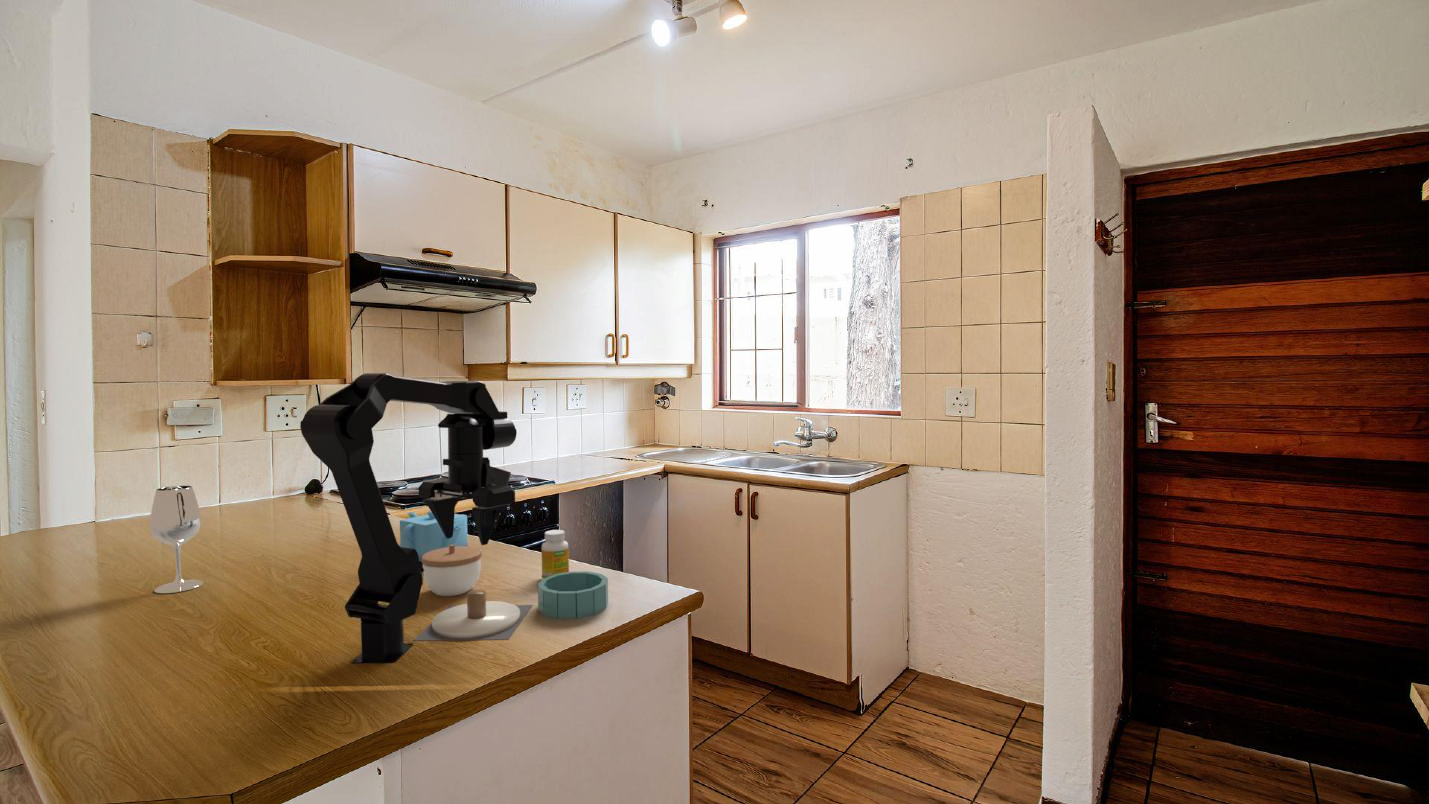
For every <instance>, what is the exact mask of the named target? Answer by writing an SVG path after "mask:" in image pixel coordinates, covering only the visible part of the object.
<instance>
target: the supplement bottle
mask: <svg viewBox="0 0 1429 804" xmlns="http://www.w3.org/2000/svg"><path fill="white" fill-rule="evenodd" d="M565 534H566V532H565V530H563V529H551V530H547V531H545V532H544V540H545V542H543V543H542V544H541V578H542V579H541V580H543V579H544V578H547V577H549V576H552V575H555V574H560V573H566V572H570V571H569V570H570V568H569V567H570V561H569V559H570V558H569V556H570V555H569V553H570V552H569V543H568V542H567V541H566V540H565V536H566V535H565Z"/></svg>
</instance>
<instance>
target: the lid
mask: <svg viewBox="0 0 1429 804" xmlns="http://www.w3.org/2000/svg"><path fill="white" fill-rule="evenodd" d="M486 592H487V591H486V590H485V589H473V590H469V591H468V592H466V603H463V604H459V605H454V606H455V607H452V608H449V609H447V608H446V609H447V610H446V609H444V610H445V611H444V610H443V611H441V612H439V613H437V614H436V615H435V616H434V617H433V618H432V619H431V623H432V630H433V632H434V633H436V634H437V635H440V636H443V637H447V638H459V639H463V638H476V637H483V636H488V635H492V634H495V633H499V632H501V631H504V630H506V629H508V628H510V627H512V626H514V625H515V624H516V623H517V622H518V621H519V619H520V609H519V608H518V607H517V606H515V605H516V604H513V603H510V602H505V601H498V600H492V601H491V600H487V595H486V594H487V593H486Z"/></svg>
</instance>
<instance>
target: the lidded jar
mask: <svg viewBox="0 0 1429 804" xmlns="http://www.w3.org/2000/svg"><path fill="white" fill-rule="evenodd" d="M421 564H422V568H423V569H424V572H422V573H423V574H422V576H423V580H424V583H425V584H426V586H427V588H428V589H429V590H430V591H431V592H432V593H434V594H435V595H437V596H440V597H452V596H459V595H463V594H467V593H468V592H469V591H471V590H472V588H473V587H474V586H475V585H476V584H477V583H478V580H479V577H480V574H481V569H482V568H481V567H482V550H481V549H480V548H478V547H475V546H469V545H468V546H455V545H454V544H452V545H449V547H446V548H440V549H436V550H433V551H430V552H427V553H425V554H424V555H423V556H422V562H421Z"/></svg>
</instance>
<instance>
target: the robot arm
mask: <svg viewBox="0 0 1429 804" xmlns="http://www.w3.org/2000/svg"><path fill="white" fill-rule="evenodd" d="M390 401H391V402H398V403H399V402H400V403H409V404H410V403H411V404H421V405H429V406H433V407H434V408H435V409H437V410H439V411H443V412H446V413H447V414H446V415H445V417H444V418H443V419H442V420H440V421H439V423H437V427H438V428H440V429H441V428H442V429H447V444H448V445H447V452H448V453H447V458H443V459H442V466H447V468H448V472H447V473H448V478H439V479H431V480H425V481H422V483H421V484H420V485H419V487H418V499H419V498H420V499H423V501H422V502H423V504H426V505H427V507H428V509H429V511H431V512H432V514H433V515H434V517H435V519H436V520H437V522H438V524H439V526H440V528H441V530H442V531H443V533H444V535H445V537H446V538H452V537H453V530H454V514H456V512H455V509H456V506H457V504H458V503H459V501H460V499H461V498H464V499H472V502H473V504H474V507H471V509H472V514H473V519H474V523H475V527H476V531H477V535H478V539H479V543H480V545H481V546H486V545H488V544H489V541H490V537H491V535H492V533H493V530H494V526H495V524H496V522H497V519H498V517H499V515H500V513H501V512H502V511H503V510H505V508H507V509H508V508H509V507H510V505H511V504H514V503H516V491H515V489H514V488H513V487H512V486H510V485H509V481H510V478H511V474H512V472H511V471H508V470H504V469H501V468H498V467H495V466H491V461H490V458H489V457H488V456H487V457H486V456H484V451H485V450H487V451H488V450H493V449H494V450H495V449H500V448H507V447H510V446H511V445H513V443H514V442H515V441H516V439H517V433H518V432H517V428H516V426H515V424H514V422H513V421H512V420H511V419H510V418H508V412H507V411H499V409H498V407H497V405H496V404H495V402H494V399H493V398H492V396H491V394H490V392H489V391H488V388H487V386H486V383H485V382H483V381H480V380H447V381H445V380H444V381H430V380H424V379H416V378H409V377H402V376H396V375H392V374H391V375H390V374H389V373H386V372H377V373H375V372H373V373H371V372H369V373H363V374H361V375H359V376H357V377H356V378H355V379H354V380H353V381H352V382H350V384H348V385H346V386H345V387H343V388H341V389H340V390H337V391H336V392H334V393H333V394H332V393H331V395H329V396H327V397H326V398H324V400H323V401H321V402H320V403H319V404H316V405H313V406H312V407H310V408H309V409H308V410H307V411H306V413H305V414H304V416H303V418H302V420H301V421H300V424H299V425H300V431H301V435H302V437H303V438H304V440H305V442H306V444H307V445H308V447H309V449H310V450H311V452H312V453H313V455H315V456H316V458H318V459H319V460H320V461H321V462H322V463H323V464H324V465H325V466H326V467H327V468H328V470H330V472H331V474H332V477H333V479H334V483H335V485H336V488H337V490H338V493H339V496H340V498H341V501H342V504H343V506H344V510H345V513H346V515H347V517H348V520H349V523H350V526H351V528H352V531H353V533H354V536H355V539H356V542H357V545H358V548H359V551H360V552H361V558H360V562H359V566H358V569H357V576H358V582H359V584H358V585H357V586H356V587H355V590H354V591H353V592H352V594H351V595H350V597H349V599H348V600H347V602H346V603H345V604H344V609H345V612H346V614H347V616H348V618H355V619H359V620H360V638H361V641H360V642H361V644H360V645H361V652H360V653H359V654H358V655H357V656H356V657H355V658H353V660H351V662H350V663H351V664H394V663H396V662H398V660H400V659H401V658H402V657H403V656H404V655H406V653H407V652H408V651H409V650H410V649H411V648H412V647H413V646H414V642H409V643H408V642H406V643H405V638H404V635H405V634H404V631H405V630H404V620H405V619H407V618H410V617H412V616H414V615H415V614H416V612H417V608H418V603H419V599H420V594H421V590H422V586H423V585H424V577H423V574H422V573H423V572H424V569H423V566H422V564H421V562H419V557H418V553H417V551H416V550H415V549H412V548H404V547H400V545H399V543H398V541H397V537H396V535H395V532H394V530H393V527H392V524H391V520H390V518H389V514H388V511H387V509H386V506H385V503H384V500H383V497H382V493H381V491H380V489H379V488H380V487H379V486H378V483H377V479H376V476H375V473H374V471H373V468H372V465H371V461H370V456H371V452H372V450H373V446H374V444H375V443H374V441H375V440H374V434H373V428H374V427H375V426H376V425H377V424H378V423H379V422H380V421H381V420H382V419H383V417H384V415H385V411H386V408H387V404H389V403H390ZM379 602H381V603H379ZM382 603H388V605H386V604H382Z"/></svg>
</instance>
